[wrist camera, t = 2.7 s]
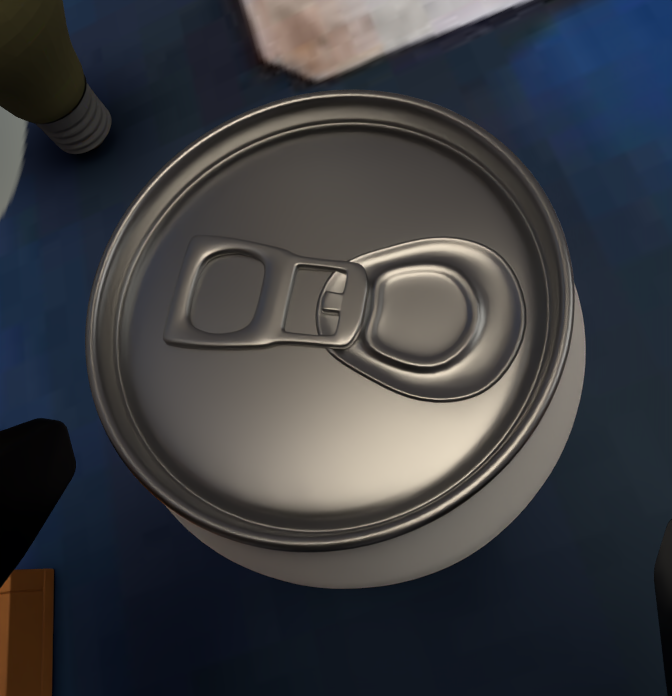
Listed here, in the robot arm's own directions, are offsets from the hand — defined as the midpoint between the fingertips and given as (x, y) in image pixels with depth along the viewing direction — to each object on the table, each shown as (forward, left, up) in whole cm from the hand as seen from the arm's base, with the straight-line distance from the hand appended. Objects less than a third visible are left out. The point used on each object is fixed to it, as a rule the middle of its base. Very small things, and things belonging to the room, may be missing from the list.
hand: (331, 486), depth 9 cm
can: (+2, -1, -9) cm, 10 cm away
